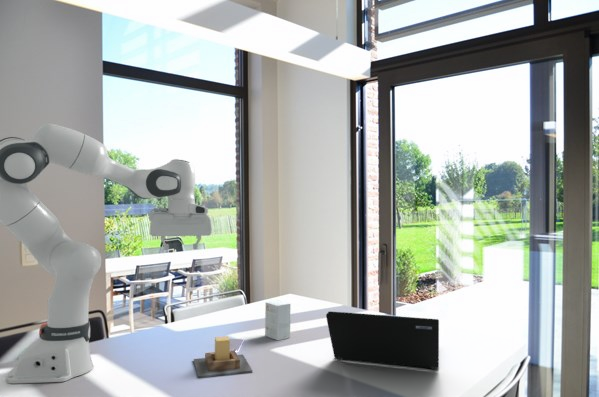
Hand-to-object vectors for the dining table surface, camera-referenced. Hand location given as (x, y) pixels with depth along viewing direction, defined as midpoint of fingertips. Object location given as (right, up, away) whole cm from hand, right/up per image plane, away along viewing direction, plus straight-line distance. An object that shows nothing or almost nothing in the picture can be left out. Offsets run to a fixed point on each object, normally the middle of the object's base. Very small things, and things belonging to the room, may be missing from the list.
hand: (180, 249), depth 154 cm
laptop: (+69, -37, -3) cm, 78 cm away
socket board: (+16, -35, -11) cm, 40 cm away
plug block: (+16, -35, -11) cm, 40 cm away
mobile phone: (+15, -36, +9) cm, 40 cm away
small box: (+32, -36, +21) cm, 52 cm away
